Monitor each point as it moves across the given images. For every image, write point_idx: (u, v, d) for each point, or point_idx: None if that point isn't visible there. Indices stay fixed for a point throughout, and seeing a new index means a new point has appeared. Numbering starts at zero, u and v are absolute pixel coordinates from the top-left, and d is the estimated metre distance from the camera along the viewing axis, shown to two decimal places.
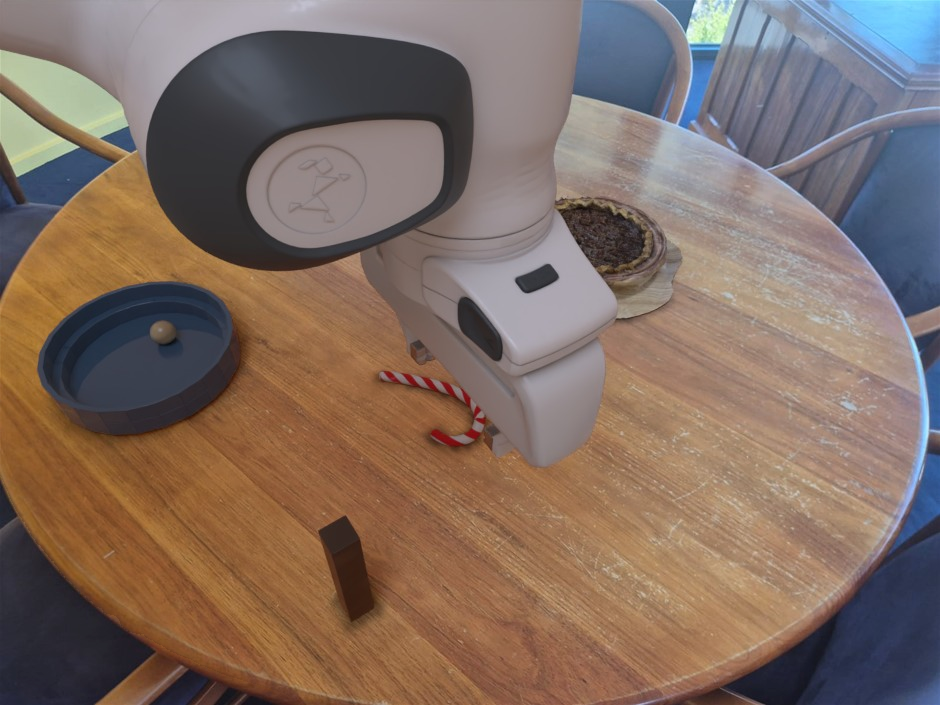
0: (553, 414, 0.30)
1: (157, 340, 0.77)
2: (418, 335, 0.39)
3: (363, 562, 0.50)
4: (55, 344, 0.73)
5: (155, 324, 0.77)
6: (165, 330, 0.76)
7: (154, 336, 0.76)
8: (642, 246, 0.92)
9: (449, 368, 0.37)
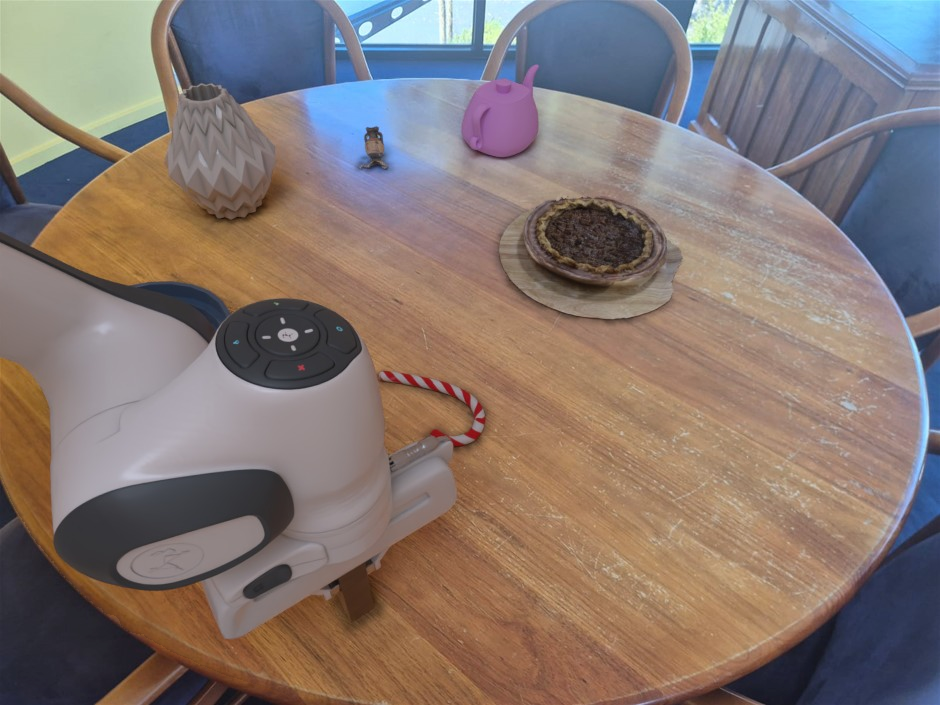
0: None
1: None
2: None
3: None
4: None
5: None
6: None
7: None
8: (642, 246, 0.92)
9: None
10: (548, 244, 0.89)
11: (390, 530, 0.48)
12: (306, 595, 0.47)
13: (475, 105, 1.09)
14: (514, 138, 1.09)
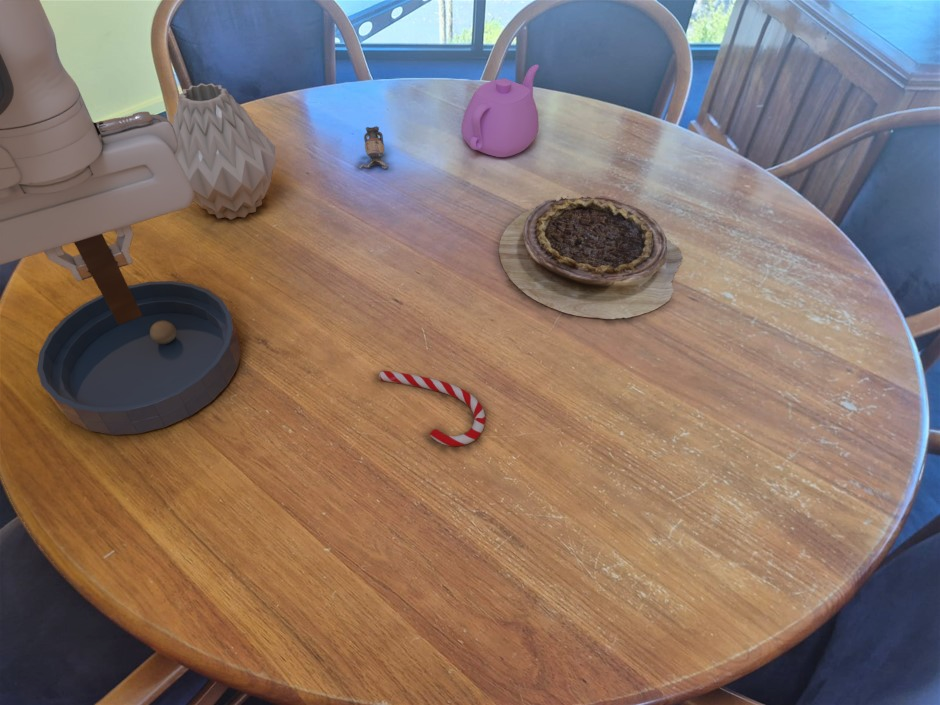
0: None
1: (157, 340, 0.77)
2: None
3: (103, 240, 0.57)
4: (55, 344, 0.73)
5: (155, 324, 0.77)
6: (165, 330, 0.76)
7: (154, 336, 0.76)
8: (642, 246, 0.92)
9: None
10: (548, 244, 0.89)
11: (116, 200, 0.55)
12: (36, 248, 0.54)
13: (475, 105, 1.09)
14: (514, 138, 1.09)
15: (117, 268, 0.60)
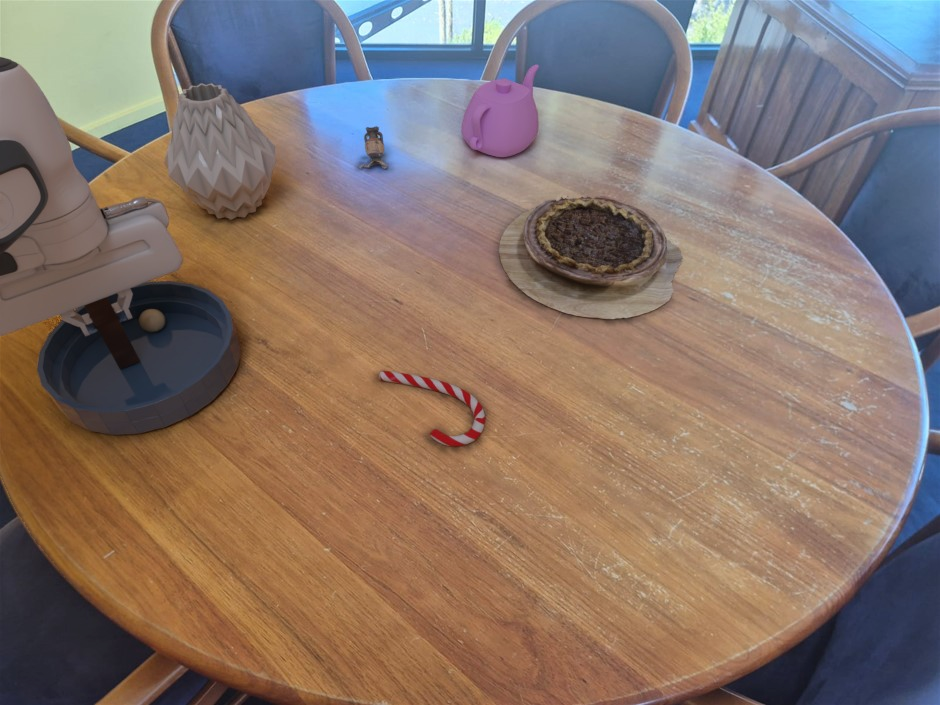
0: None
1: (139, 317, 0.78)
2: None
3: (108, 301, 0.69)
4: (55, 344, 0.73)
5: None
6: None
7: None
8: (642, 246, 0.92)
9: None
10: (548, 244, 0.89)
11: (119, 269, 0.67)
12: (54, 312, 0.65)
13: (475, 105, 1.09)
14: (514, 138, 1.09)
15: (119, 323, 0.71)
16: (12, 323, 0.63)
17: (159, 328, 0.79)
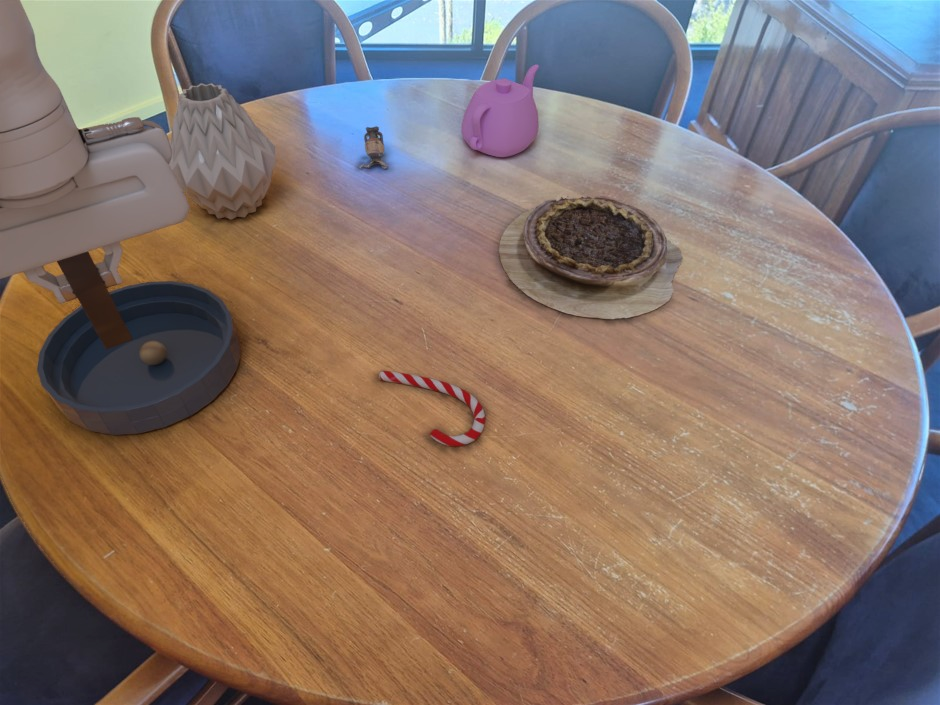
0: None
1: None
2: None
3: (89, 258, 0.52)
4: (55, 344, 0.73)
5: (150, 363, 0.75)
6: None
7: None
8: (642, 246, 0.92)
9: None
10: (548, 244, 0.89)
11: (104, 215, 0.50)
12: (14, 268, 0.49)
13: (475, 105, 1.09)
14: (514, 138, 1.09)
15: (104, 288, 0.55)
16: None
17: (155, 342, 0.75)
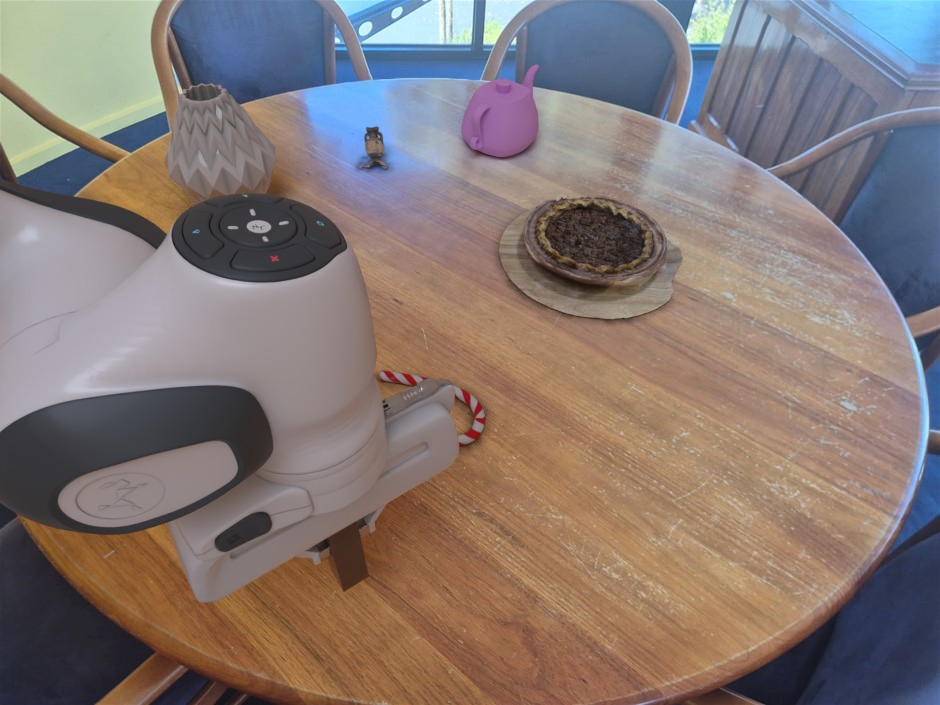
0: (171, 535, 0.38)
1: None
2: None
3: None
4: None
5: None
6: None
7: None
8: (642, 246, 0.92)
9: None
10: (548, 244, 0.89)
11: (385, 484, 0.43)
12: (291, 555, 0.42)
13: (475, 105, 1.09)
14: (514, 138, 1.09)
15: (360, 542, 0.48)
16: (236, 583, 0.40)
17: None
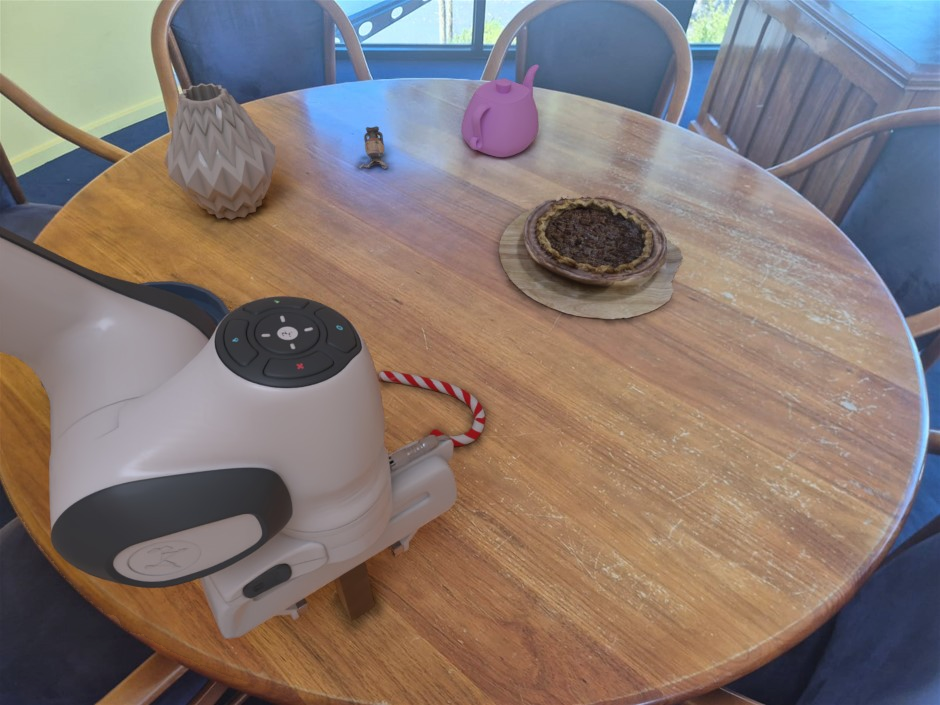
0: (200, 579, 0.43)
1: None
2: None
3: None
4: None
5: None
6: None
7: None
8: (642, 246, 0.92)
9: None
10: (548, 244, 0.89)
11: (390, 529, 0.48)
12: (306, 594, 0.47)
13: (475, 105, 1.09)
14: (514, 138, 1.09)
15: (367, 578, 0.53)
16: (257, 621, 0.45)
17: None
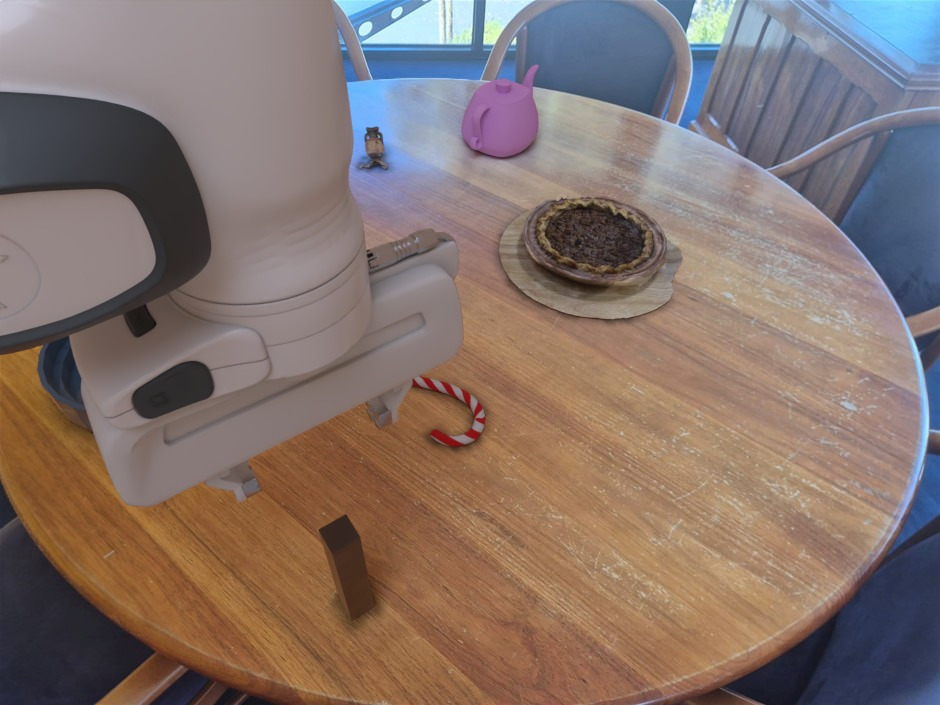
0: None
1: None
2: None
3: (363, 561, 0.50)
4: (55, 344, 0.73)
5: None
6: None
7: None
8: (642, 246, 0.92)
9: None
10: (548, 244, 0.89)
11: (370, 368, 0.34)
12: (250, 453, 0.33)
13: (475, 105, 1.09)
14: (514, 138, 1.09)
15: (367, 578, 0.53)
16: (176, 482, 0.31)
17: None
